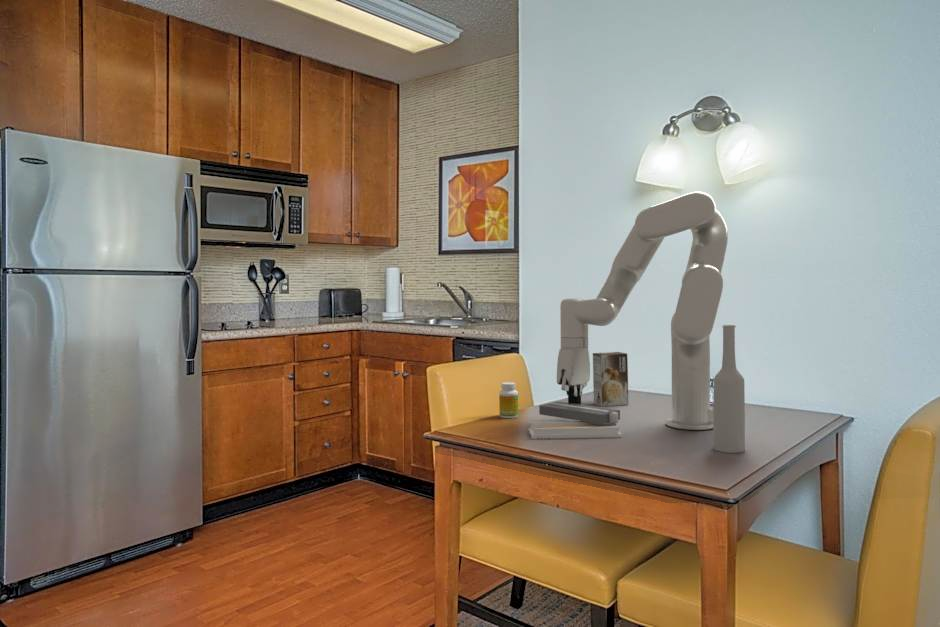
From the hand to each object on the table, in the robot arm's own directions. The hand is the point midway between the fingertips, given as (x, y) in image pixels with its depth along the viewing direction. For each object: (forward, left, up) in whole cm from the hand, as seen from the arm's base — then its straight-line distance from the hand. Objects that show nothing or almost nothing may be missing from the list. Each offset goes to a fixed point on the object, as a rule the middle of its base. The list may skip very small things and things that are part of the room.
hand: (574, 409), depth 180 cm
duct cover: (0, +9, 0) cm, 9 cm away
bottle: (-29, +34, -3) cm, 45 cm away
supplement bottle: (+18, -7, -3) cm, 19 cm away
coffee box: (-15, -23, -3) cm, 28 cm away
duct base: (+3, +16, -3) cm, 16 cm away
